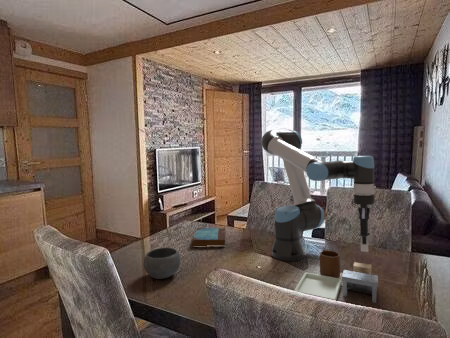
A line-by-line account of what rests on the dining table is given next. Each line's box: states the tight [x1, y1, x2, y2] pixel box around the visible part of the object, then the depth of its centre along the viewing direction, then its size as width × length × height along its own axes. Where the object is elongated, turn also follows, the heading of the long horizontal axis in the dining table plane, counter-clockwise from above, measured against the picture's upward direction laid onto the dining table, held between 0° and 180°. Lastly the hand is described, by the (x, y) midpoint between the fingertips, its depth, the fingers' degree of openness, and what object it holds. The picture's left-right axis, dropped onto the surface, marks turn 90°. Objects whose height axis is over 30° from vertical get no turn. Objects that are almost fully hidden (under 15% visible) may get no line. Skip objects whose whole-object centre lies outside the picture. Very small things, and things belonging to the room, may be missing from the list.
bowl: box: [143, 247, 181, 280], centre depth 118 cm, size 15×15×10 cm
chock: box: [352, 261, 372, 275], centre depth 110 cm, size 6×4×6 cm, turn 61°
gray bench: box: [341, 269, 379, 304], centre depth 100 cm, size 11×9×7 cm
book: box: [191, 227, 226, 247], centre depth 162 cm, size 23×18×5 cm
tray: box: [293, 271, 343, 300], centre depth 103 cm, size 14×17×2 cm
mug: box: [319, 248, 341, 279], centre depth 116 cm, size 12×8×9 cm, turn 175°
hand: (364, 251), depth 116 cm, fingers closed
